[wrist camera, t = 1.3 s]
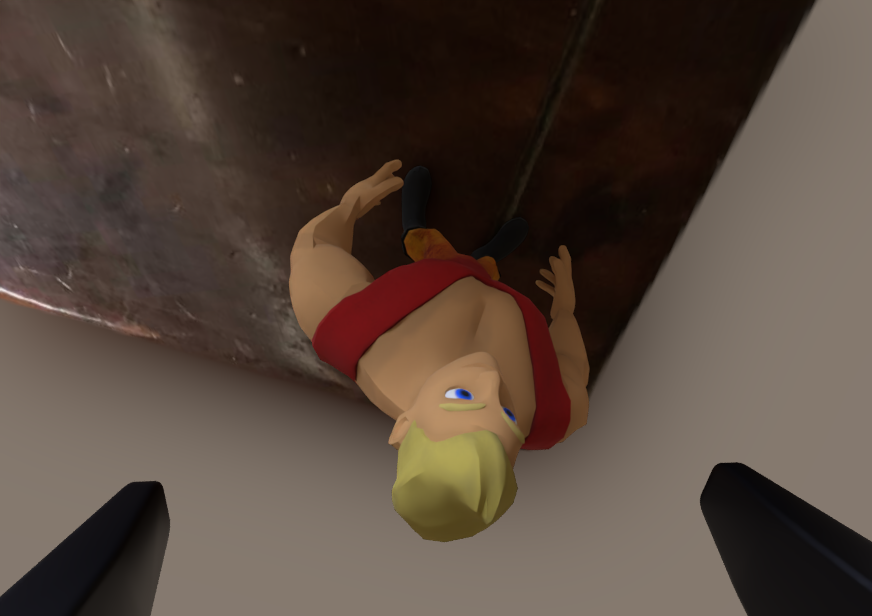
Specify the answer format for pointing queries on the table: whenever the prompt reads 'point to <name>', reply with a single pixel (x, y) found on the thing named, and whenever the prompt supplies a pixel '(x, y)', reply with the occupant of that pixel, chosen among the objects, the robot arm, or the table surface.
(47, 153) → the table surface
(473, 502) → the action figure
